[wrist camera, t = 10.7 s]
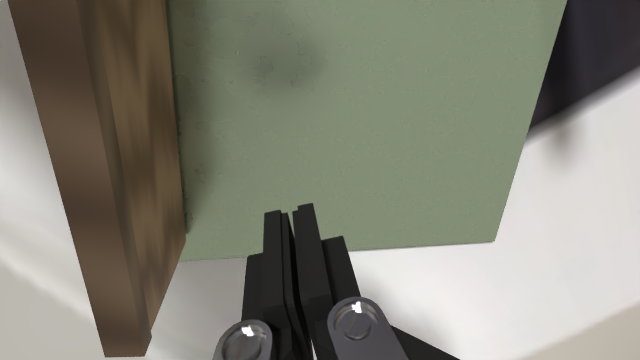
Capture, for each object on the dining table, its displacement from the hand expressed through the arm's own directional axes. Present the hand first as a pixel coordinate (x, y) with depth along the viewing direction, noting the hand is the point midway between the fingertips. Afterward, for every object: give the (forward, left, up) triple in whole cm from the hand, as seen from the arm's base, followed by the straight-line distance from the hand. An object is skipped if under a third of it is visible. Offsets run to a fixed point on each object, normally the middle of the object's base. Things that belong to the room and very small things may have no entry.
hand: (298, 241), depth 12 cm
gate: (-8, 0, -14) cm, 16 cm away
